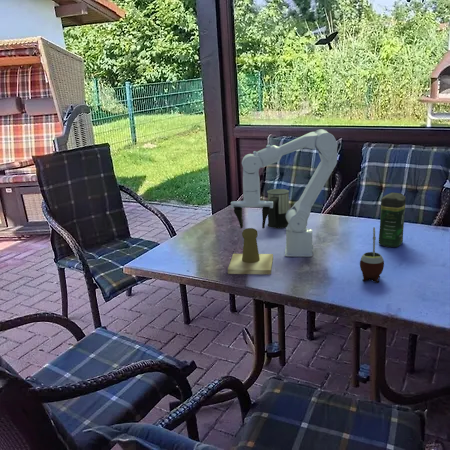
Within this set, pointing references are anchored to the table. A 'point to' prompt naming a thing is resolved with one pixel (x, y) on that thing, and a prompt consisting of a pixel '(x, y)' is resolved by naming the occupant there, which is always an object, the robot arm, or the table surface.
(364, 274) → the mate gourd
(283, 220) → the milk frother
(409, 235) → the table surface
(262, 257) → the birch base board
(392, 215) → the coffee jar
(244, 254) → the cork
